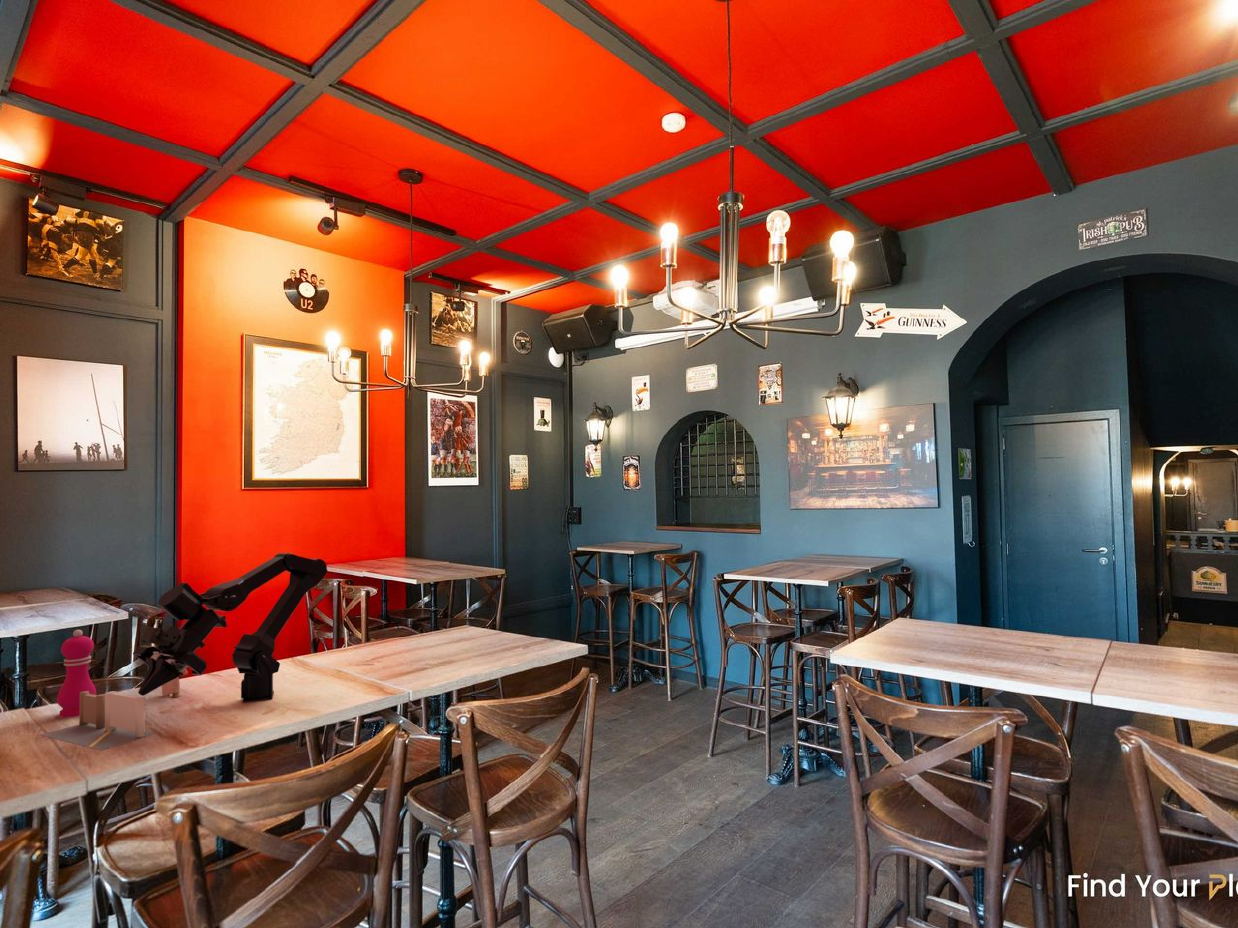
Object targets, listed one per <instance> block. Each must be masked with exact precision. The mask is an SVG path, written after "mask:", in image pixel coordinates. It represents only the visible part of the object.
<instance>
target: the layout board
mask: <svg viewBox="0 0 1238 928" xmlns="http://www.w3.org/2000/svg"><path fill="white" fill-rule="evenodd" d="M78 722H79V724H76V725H72V726H68V727H66V728H61V729H57V730H53V731H50V732H45V733H43V734H41V736H43V737H45V738H46V737H47V738H50V739H54V740H58V741H62V742H64V743H71V744H72V745H73V744H75V745H76V746H81V747H86V748H90V749H94V750H97V751H104V750H108V749H110V748H114V747H117V746H121V745H124V744H127V743H130V742H131V743H132V742H133V741H137V740H139V739H143V738H146V737H149V736H153V735H155V733H154V732H148V731H145V736H143V737H138V738H136V737H135V732H134V731H129V730H125V729H120V728H117V729H115V730H112V731H105V693H103V694H96V695H93V694H89V691H84V692H80V715H79V721H78Z"/></svg>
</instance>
